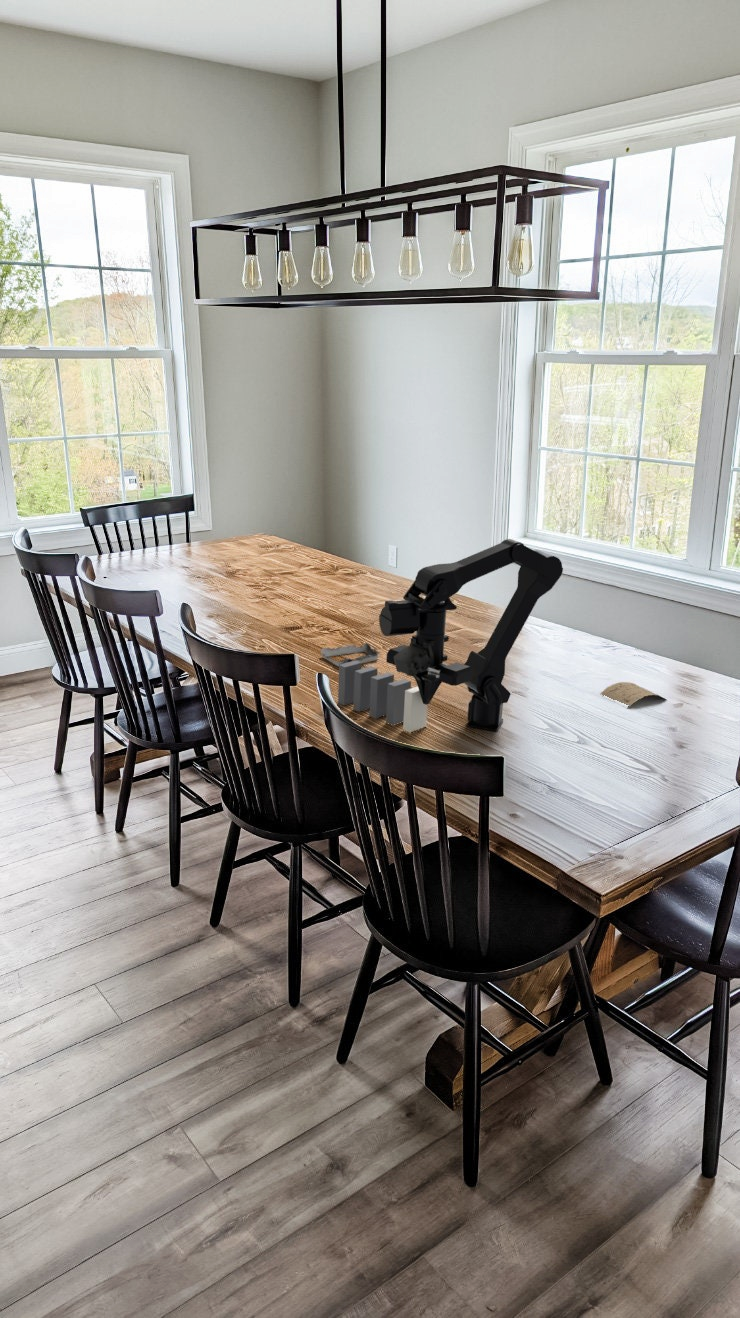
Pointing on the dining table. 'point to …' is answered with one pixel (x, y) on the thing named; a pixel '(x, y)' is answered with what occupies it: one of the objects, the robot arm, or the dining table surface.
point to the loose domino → (414, 710)
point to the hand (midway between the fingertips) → (426, 703)
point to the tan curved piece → (626, 692)
